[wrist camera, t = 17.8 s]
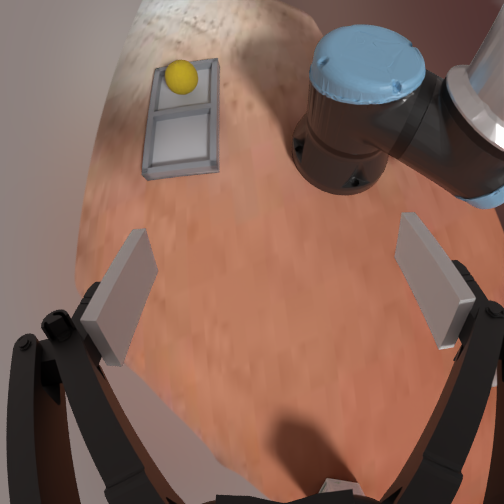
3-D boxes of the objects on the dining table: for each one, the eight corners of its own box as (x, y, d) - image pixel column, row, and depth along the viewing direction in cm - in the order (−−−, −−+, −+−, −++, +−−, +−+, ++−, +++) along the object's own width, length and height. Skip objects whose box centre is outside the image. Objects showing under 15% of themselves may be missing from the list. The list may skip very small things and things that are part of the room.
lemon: (172, 83, 53) (159, 56, 45) (201, 77, 52) (191, 48, 45) (172, 106, 52) (158, 78, 44) (203, 99, 51) (192, 70, 44)
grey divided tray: (159, 76, 55) (155, 68, 52) (219, 66, 54) (217, 58, 51) (147, 180, 50) (141, 174, 48) (219, 172, 49) (216, 165, 47)
